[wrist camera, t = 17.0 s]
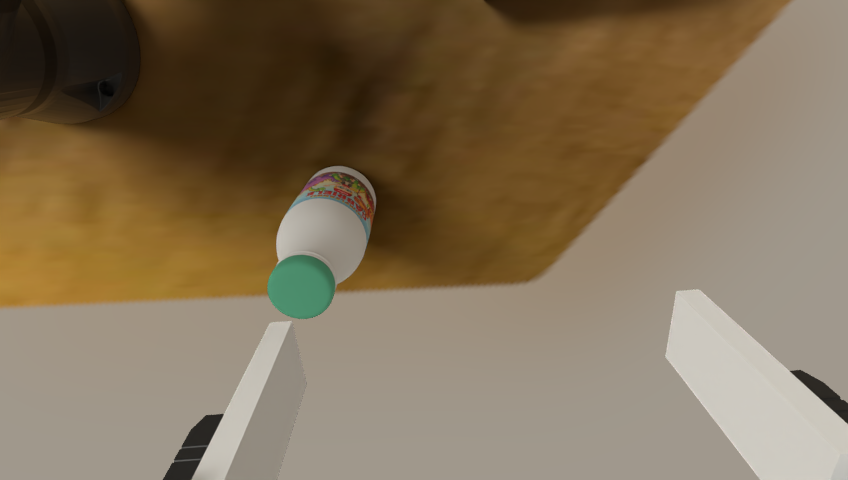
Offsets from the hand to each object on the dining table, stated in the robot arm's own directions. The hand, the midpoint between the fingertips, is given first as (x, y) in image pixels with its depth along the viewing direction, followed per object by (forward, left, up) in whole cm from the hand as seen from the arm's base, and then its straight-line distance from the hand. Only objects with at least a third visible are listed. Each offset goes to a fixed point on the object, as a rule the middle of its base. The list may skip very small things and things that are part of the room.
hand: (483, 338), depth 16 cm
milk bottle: (-11, -6, -35) cm, 37 cm away
